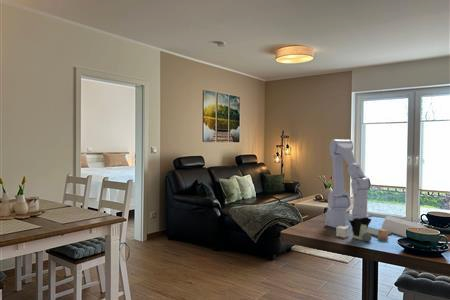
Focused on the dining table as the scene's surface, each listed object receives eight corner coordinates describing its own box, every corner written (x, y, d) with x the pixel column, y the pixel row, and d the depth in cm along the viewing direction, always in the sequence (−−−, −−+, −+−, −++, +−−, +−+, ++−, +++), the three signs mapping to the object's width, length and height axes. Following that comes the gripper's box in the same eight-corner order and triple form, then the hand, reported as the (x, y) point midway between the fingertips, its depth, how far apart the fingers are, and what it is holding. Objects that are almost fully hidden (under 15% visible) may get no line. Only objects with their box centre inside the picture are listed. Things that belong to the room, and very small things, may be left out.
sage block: (352, 237, 145) (353, 224, 145) (358, 236, 147) (358, 223, 147) (360, 239, 142) (360, 226, 142) (366, 238, 144) (366, 225, 144)
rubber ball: (360, 241, 140) (360, 232, 140) (365, 239, 142) (365, 231, 142) (367, 243, 137) (368, 234, 137) (373, 242, 138) (373, 233, 138)
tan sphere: (375, 238, 144) (376, 229, 144) (381, 237, 146) (381, 228, 146) (384, 240, 141) (384, 231, 141) (389, 239, 143) (390, 230, 143)
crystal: (375, 221, 160) (418, 235, 137) (385, 213, 162) (429, 225, 139) (381, 234, 161) (424, 249, 138) (391, 226, 163) (435, 239, 140)
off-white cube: (336, 236, 147) (336, 227, 147) (339, 234, 150) (340, 225, 150) (344, 237, 145) (345, 229, 145) (348, 236, 148) (348, 227, 147)
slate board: (351, 230, 157) (352, 228, 157) (364, 227, 162) (365, 225, 162) (378, 237, 145) (378, 235, 145) (391, 234, 150) (391, 232, 150)
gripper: (357, 207, 137) (356, 239, 137) (378, 204, 144) (377, 234, 145) (343, 204, 143) (343, 235, 143) (364, 202, 150) (363, 231, 151)
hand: (359, 234), depth 144 cm, fingers closed on sage block, 4 cm apart
